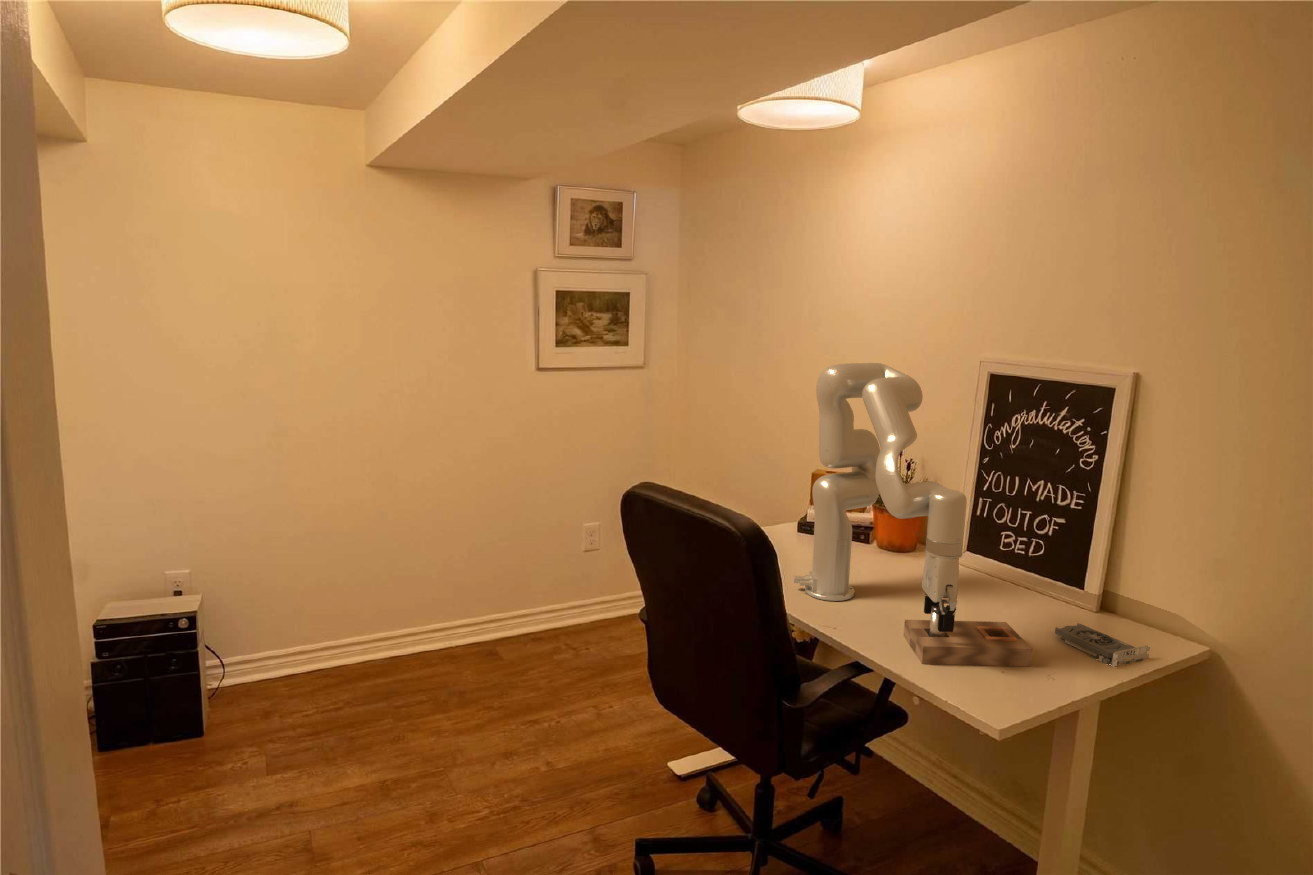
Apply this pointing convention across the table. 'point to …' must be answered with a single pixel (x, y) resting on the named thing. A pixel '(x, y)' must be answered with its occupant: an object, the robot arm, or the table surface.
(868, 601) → the table surface
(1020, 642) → the pin board
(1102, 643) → the graphics card
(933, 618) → the lock pin
